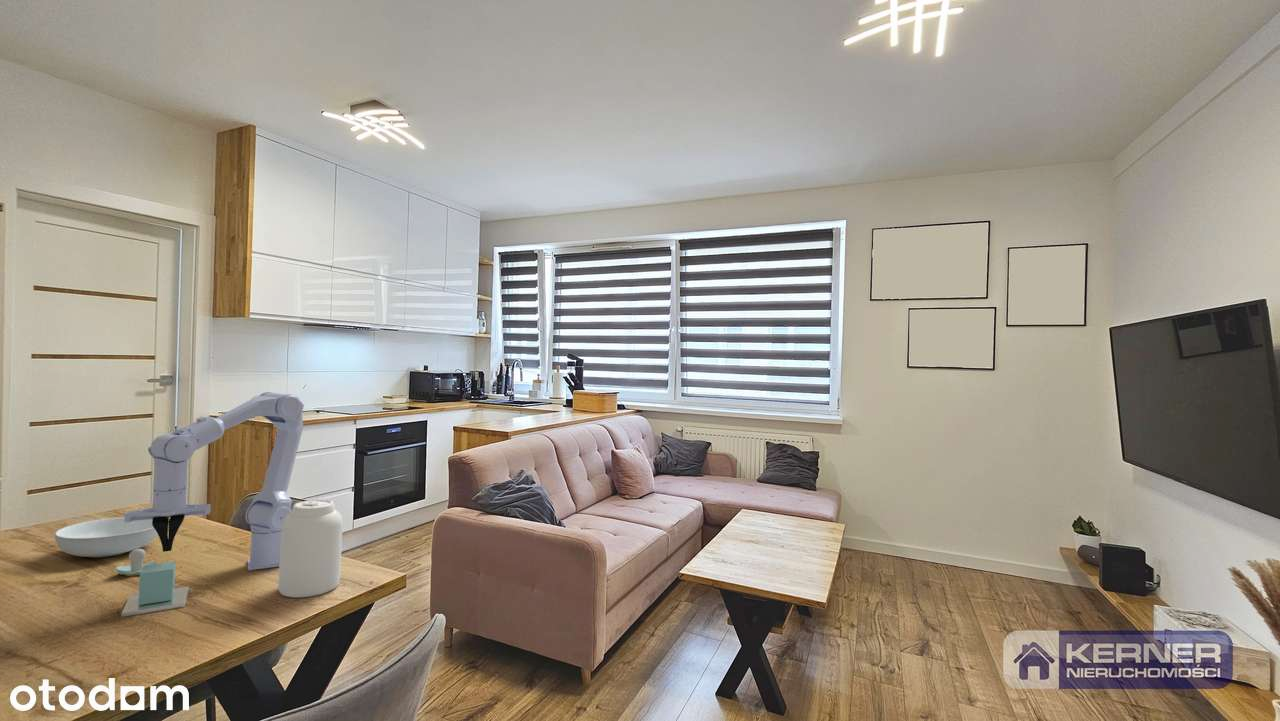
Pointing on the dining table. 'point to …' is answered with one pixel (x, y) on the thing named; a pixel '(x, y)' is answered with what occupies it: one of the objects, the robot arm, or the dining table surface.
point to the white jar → (310, 549)
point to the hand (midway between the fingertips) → (167, 550)
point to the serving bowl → (105, 537)
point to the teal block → (157, 583)
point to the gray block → (176, 602)
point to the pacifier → (134, 563)
